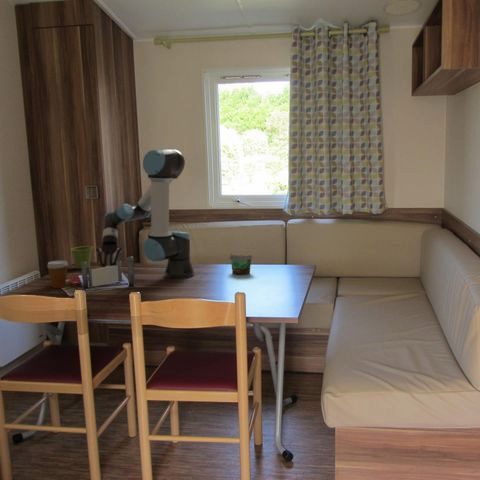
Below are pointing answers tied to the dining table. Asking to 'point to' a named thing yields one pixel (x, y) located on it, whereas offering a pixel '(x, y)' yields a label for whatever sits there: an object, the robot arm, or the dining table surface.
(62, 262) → the disposable coffee cup
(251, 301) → the dining table surface
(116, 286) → the strip
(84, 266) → the hinge post
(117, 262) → the gate
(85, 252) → the plant pot
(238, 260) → the food container
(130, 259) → the post
